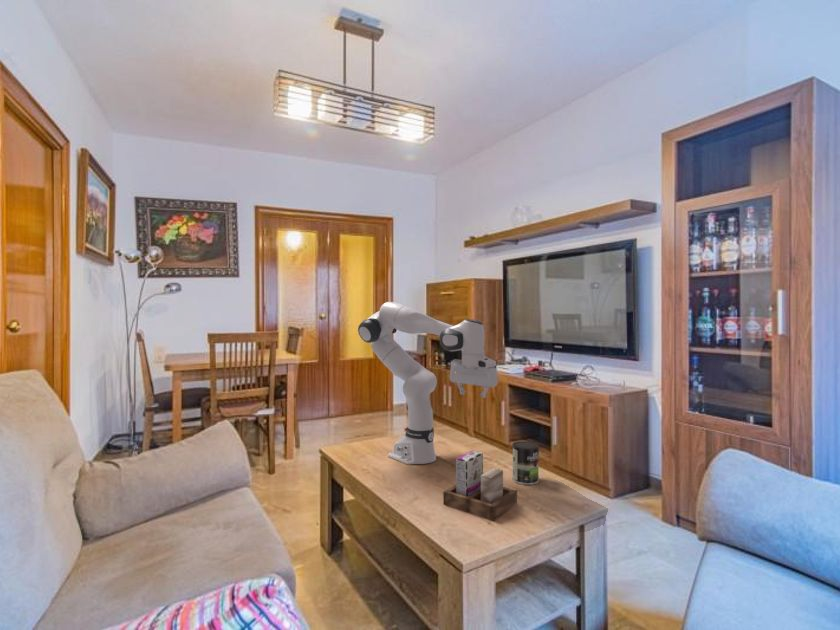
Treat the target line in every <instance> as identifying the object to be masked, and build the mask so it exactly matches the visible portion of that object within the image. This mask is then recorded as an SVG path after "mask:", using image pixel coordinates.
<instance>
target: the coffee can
mask: <svg viewBox="0 0 840 630" xmlns="http://www.w3.org/2000/svg"><path fill="white" fill-rule="evenodd" d="M539 449H540V446H539V444H537V443H536V442H533V441H532V442H531V441H525V440H524V441H521V440H520V441H515V442H513V443H512V478H511V479H512V481H513V482H515V483H516V484H519V485H522V486H523V485H525V486H531V485H532V486H533V485H536V484H538V483H539V482H540V481H539V460H540V459H539V455H540V452H539V451H540V450H539Z"/></svg>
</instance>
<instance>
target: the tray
mask: <svg viewBox="0 0 840 630" xmlns="http://www.w3.org/2000/svg"><path fill="white" fill-rule="evenodd" d="M442 494H443V495H442V496H443V499H442V501H443V505H444V506H447V507H450V508H453V509H455V510H460V511H463V512H465V513H469V514H472V515H475V516H477V517H480V518H484V519H487V520H491V521H492V522H493V521H496V520H497V519H498V518H500V517H502V515H503V514H505V513H506V512H507V511H509V510H510V509H511V508H513V507H514V506H516V505H517V504H518V490H516V489H513V488H509V487H505V486H504V471H503V469H499V468H496V467H493V468H491V469H490V470H488V471H486V472H485V473H484V472H483V475H481V489H480V490H479V491H477V492H475V493H474V494H472V495H471V496H469V497H467V496H464V495H460V494H457V493H456V484H454V485H453V486H450V487H449V488H447V489H446V490H444V491H443V493H442Z"/></svg>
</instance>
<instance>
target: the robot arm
mask: <svg viewBox="0 0 840 630" xmlns="http://www.w3.org/2000/svg"><path fill="white" fill-rule="evenodd" d="M357 331H358V335H359V337H360V338H361V340H362V341H363V342H365V343H367V344H370V347H371V350H372V351H373V353H374V354H375V355H376V357H377V358H378V359H379V360H380V362H381V363H382V364H383V365H384V366H385V367H386V368H387V369H388V370H389V371H390V372H391V373H392V375H394V376H395V377H397V378H399V379H401V380H403V382H404V383H403V385H402V392H403V394H404V396H405V400H406V405H407V412H408V414H407V415H408V419H407V421H408V426H407V427H406V428H404V429H403V432H405V433H404V435H403V436H401V437H400V438H399V439H398V440H396V441H395V442H394V444H393V450H392V451H390V452H389V453H388V457H389V458H391V459H393V460H396V461H398V462H400V463H403V464H405V465H424V464H430V463H434V462H435V461H437V456H436V451H435V445H434V437H435V430H434V428H435V427H434V410H433V408H432V403H431V398H430V395H431V393H433V392H434V391H435V390H436V387H437V385H438V383H437V382H438V378H437V377H436V375H435V374H434V373H433V372H432V371H430V370H428V369H427V368H425V366H423V365H422V364H421V363H419V362H418V361H416V360H415V359H414V358H413V357H411V356H410V355H409V353H408V352H406V350H405V349H404V348H403V347H402V346H401V345H400V344H399V343H398V342H397V341H396V340H395V339H394V337H393V334H395V333H397V331H399V332H402V333H406V334H413V335H414V334H432V335H436V336H439V338H438V339H439V345H440V347H441V348H442V349H443V350H445V351H448V352H457V351H461V359H457V358H454V359H453V360H451V362H450V371H449V381H450V382H451V383H456V385H457V387H458V390H459V394H460V395H465V394H466V389H464V387H463V385H465V384H466V385H471V386H478V387H482V389H483V391H482V392H480V398H482V399H486V397H487V393H488V392H489V391H488V390H489V389H490V388H494V387H495V388H496V387H497V386H498V384H499V383H498V382H499V381H498V370H497V368H496V366H497V361H496V360H494V359H492V358H490V357H487V356H486V355H485V348H484V346H485V344H486V343H485V340H486V339H485V336H486V335H485V327H484V324H483V322H482V321H481V320H480V321H479V320H477V319H471V318H468V319H467V318H466V319H464V320H462V321H461V322H459V323H458V324H456V325H453V324H450V323H447V322H445V321H442V320H439V319H436V318H434V317H431V316H429V315H427V314H425V313H423V312H420V311H418V310H417V309H415V308H412V307H410V306H408V305H405V304H403V303H399V302H395V301H386V302H384V303H383V304H381V306H380V308H379V311H377V312H375V313H373V314H371V316H368V317H367V318H366V319H364V320H363V321H362V322H360V323H359V325H358V328H357Z"/></svg>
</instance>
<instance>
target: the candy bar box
mask: <svg viewBox="0 0 840 630" xmlns="http://www.w3.org/2000/svg"><path fill="white" fill-rule="evenodd" d="M483 457H484V454H483V452H481V451H476V450H471V451H468V452H466V453H463V454H462V455H461V456H458V457H456V458H455V485H456V493H457V494H460V495H464V496H467V497H469V496H471V495H472V494H474V493H475V492H477V491H479V490H480V489H481V475H483V474H484V461H483V460H484V458H483Z"/></svg>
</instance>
